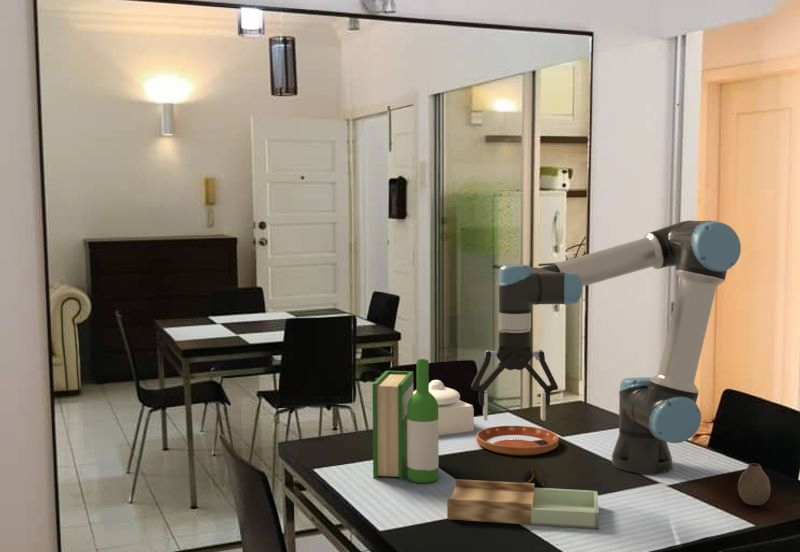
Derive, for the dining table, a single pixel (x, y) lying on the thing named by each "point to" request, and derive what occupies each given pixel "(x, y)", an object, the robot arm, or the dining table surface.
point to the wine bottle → (422, 430)
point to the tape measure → (533, 478)
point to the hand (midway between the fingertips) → (514, 419)
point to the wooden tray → (491, 501)
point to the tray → (565, 508)
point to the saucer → (517, 445)
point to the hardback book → (391, 423)
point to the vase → (754, 485)
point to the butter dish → (451, 410)
